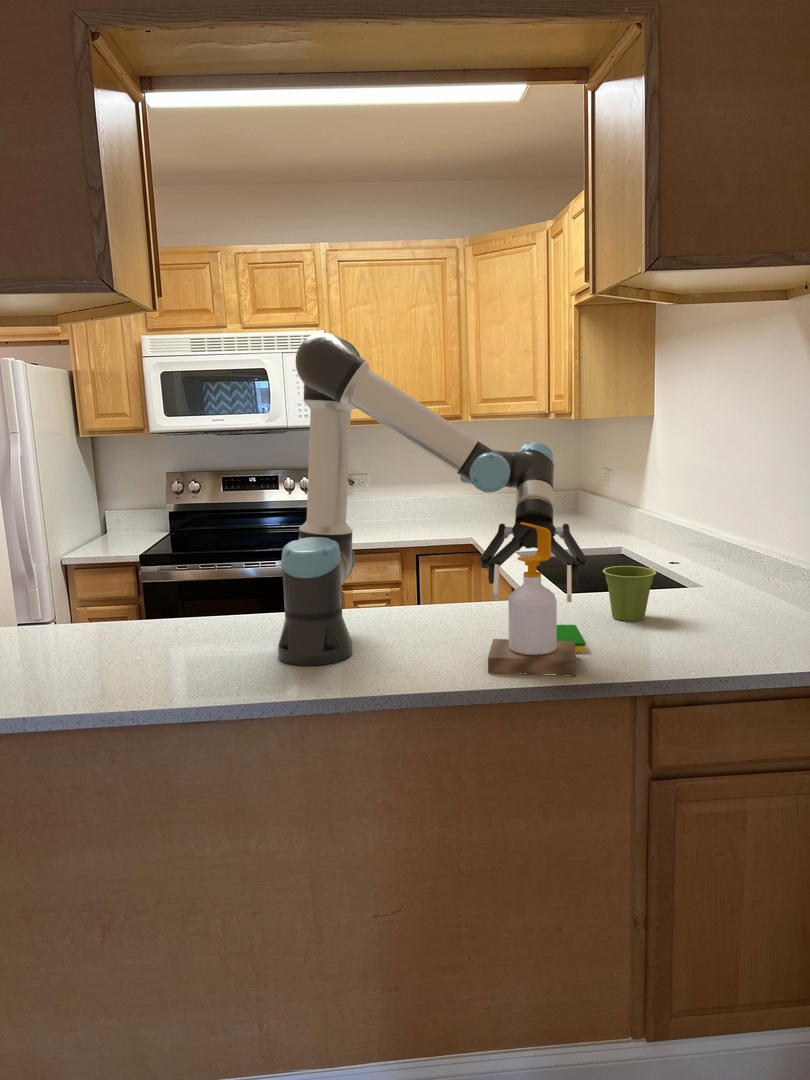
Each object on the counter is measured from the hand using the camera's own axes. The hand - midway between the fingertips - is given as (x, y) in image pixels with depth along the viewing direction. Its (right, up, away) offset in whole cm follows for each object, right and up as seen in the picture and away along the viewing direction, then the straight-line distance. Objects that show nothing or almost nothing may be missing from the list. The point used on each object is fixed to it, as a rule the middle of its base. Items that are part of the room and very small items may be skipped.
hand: (532, 597), depth 139 cm
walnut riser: (+1, -13, +4) cm, 14 cm away
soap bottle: (+1, -10, +4) cm, 11 cm away
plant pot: (+28, -8, +35) cm, 46 cm away
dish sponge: (+10, -11, +18) cm, 23 cm away
